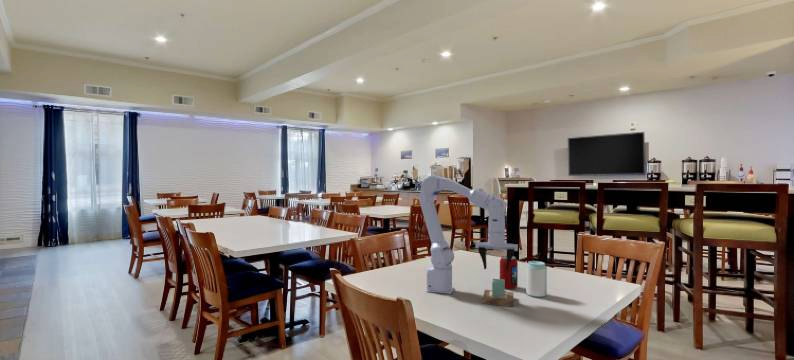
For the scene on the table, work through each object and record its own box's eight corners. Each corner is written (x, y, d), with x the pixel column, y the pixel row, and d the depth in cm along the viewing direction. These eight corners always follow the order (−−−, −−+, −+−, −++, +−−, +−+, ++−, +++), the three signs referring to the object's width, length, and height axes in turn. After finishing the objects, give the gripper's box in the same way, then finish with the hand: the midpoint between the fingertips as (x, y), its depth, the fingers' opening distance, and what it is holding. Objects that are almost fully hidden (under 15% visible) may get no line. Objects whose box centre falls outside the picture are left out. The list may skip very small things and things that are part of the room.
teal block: (492, 295, 134) (492, 281, 134) (493, 292, 137) (493, 278, 137) (504, 297, 132) (504, 282, 132) (504, 293, 136) (504, 279, 136)
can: (523, 295, 142) (523, 262, 141) (531, 291, 147) (531, 259, 147) (541, 299, 137) (542, 265, 137) (549, 295, 142) (549, 262, 142)
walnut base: (482, 303, 132) (482, 297, 132) (485, 295, 141) (485, 289, 141) (513, 306, 129) (513, 300, 129) (513, 297, 138) (513, 291, 138)
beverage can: (518, 290, 147) (518, 259, 147) (500, 289, 149) (500, 258, 149) (516, 285, 154) (516, 255, 154) (499, 284, 155) (499, 255, 155)
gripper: (474, 231, 136) (474, 270, 136) (517, 234, 132) (517, 273, 132) (476, 229, 143) (476, 265, 143) (517, 231, 138) (517, 269, 138)
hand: (496, 269), depth 138 cm, fingers open, 7 cm apart
